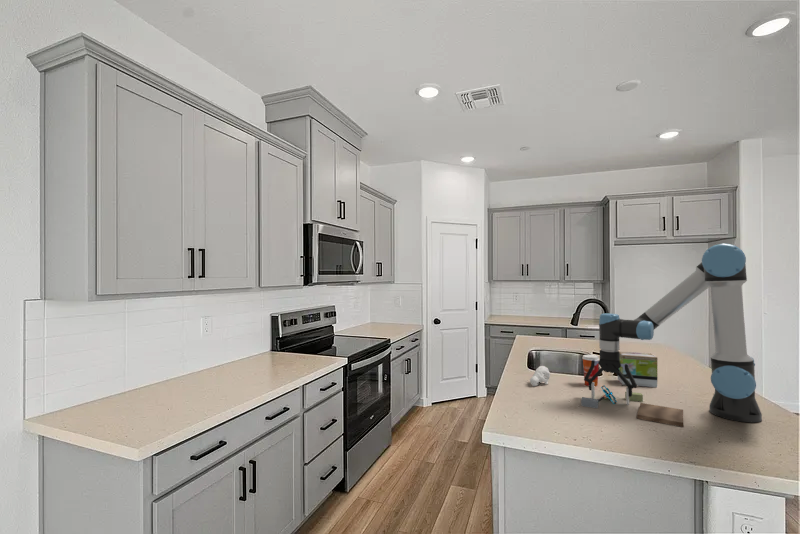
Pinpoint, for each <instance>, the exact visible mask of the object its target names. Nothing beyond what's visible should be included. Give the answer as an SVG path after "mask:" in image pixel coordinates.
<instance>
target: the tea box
mask: <svg viewBox="0 0 800 534" xmlns="http://www.w3.org/2000/svg"><path fill="white" fill-rule="evenodd" d="M619 352H620V363H621V364H626V363H628V365H629V370H630V372H631V374H632V376H633V378H634V380H635V382H636V384H637V387H648V388H655V387H656V388H658V356H656V355H655V354H653V353H649V352H647V353H646V352H632V351H620V350H619ZM619 370H620V371H621V373H622V374H623V375H624V377H625V378H626V379H627V380H628V381H629V383H630V384H631V385H632V383H631V381H630V379H629V377H628V375H627V373H626V371H625V369H623V367H620V368H619ZM617 380H618V381H619V383H620V384H621V385H625V383H624V382H623V381H622V380H621V378H620V377H619V376H618V375H617ZM625 386H626V385H625ZM656 388H655V389H656Z"/></svg>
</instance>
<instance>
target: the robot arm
mask: <svg viewBox="0 0 800 534" xmlns="http://www.w3.org/2000/svg"><path fill="white" fill-rule="evenodd" d="M746 262H747V258H746V254H745V253H744V250H743V249H741V248H740V247H738V246H736V245H735V244H732V243H731V244H730V243H719V244H714V245H712V246H710V247H709V248H707V249H706V250H705V251H704V252H703V255H702V257H701V262H700V263H699V264H698V265H696V267H695V271H694V272H692V273H691V274H690V275H688V277H686V278H685V279H684V280H683V281H681V282H680V283H679V284H678V285H676V286H675V287H674V288H673V289H671V290H670V291H669V292H668V293H666V294H665V295H664V296H663V297H662V298H660V299H659V300H658V301H657V302H656V303H654V304H652V306H650V307H649V308H648V309H647V310H645V311H644V312H643V313H642V314H641V315H639V316H637V318H635V319H622V318H620V314H617V313H608V312H607V313H605V312H604V313H601V314H600V315H599V319H598V321H599V323H598V330H599V335H598V336H599V339H598V343H599V346H598V347H599V359H600V360H599V361H596V360H594V359H593V360H592V361H591V367H590V369H589V370H588V372H587V374H586V376H585V378H584V377H583V380H585V381H587V382H588V383H589V386H588V390H589V391H591V392H590V393H591V398H592V399H596V397H595V394H596V393H595V387H594V382H593V380H594V379H595V378H596V377H597V376H598V377H599V376H600V375H601V373H602V372H605V373H611V374H616V375H617V377H618V376H619V377H620V378H621V380H622V381H623V382H624V383H625V386H626V389H625V390H626V391H625V392H626V399H625V403H626V405H627V406H629V405H630V401H629V396H630V397H631V396H632V392H633V389H637V387H638V386H637V384H636V382H635V380H634V378H633V376H632V374H631V372H630V370H629V365H628V363H626V364H621V363H620V352H621V351H620V349H621V348H620V347H621V346H620V338H624V339H634V340H635V339H636V340H640V341H645V340H646V341H651V340H652V339H653V338H654V335H655V333H654V332H655V330H656V329H657V328H658V327H660V325H662V324H664V323H665V322H666V321H667V320H669V319H670V318H671V317H672V316H674V315H675V314H676V313H678V312H679V311H680V310H681V309H683V308H684V307H685V306H687V305H688V304H689V303H691V302H692V301H693V300H695V299H696V298H697V297H698V296H700V295H701V294H703V292H705V291H706V290H708V289H709V288H710V300H711V311H712V312H711V313H712V322H713V334H714V348H715V349H714V350H715V352H714V353H713V354H712V355H710V368H711V375H710V383H711V385H712V387H713V388H714V394H713V395H712V398H711V401H710V403H709V406H708V407H709V413H711V414H712V415H715V416H717V417H719V418H724V419H726V420H730V421H731V420H732V421H734V422H735V421H736V422H741V423H759V422H762V421H763V417H762V416H763V415H762V411H761V409H760V406H759V404H758V402H757V399H756V388H757V382H756V375H755V371H756V370H755V366H756V363H755V359H754V358H753V357H752V356H749V355H748V351H747V350H748V349H747V339H746V338H747V337H746V326H745V323H746V322H745V312H744V302H743V301H744V300H743V289H742V286H743V285H744V284H745V283H746V282H747V281H748V278H747V277H748V276H747V265H746V264H747V263H746ZM619 351H620V352H619ZM597 364H599V366H600V368H599V369H598V372H597V373H596V374H595V375H594V376H593V377H592V378H591V379H589V376H590V374H591V372H592V370H593V368H594V367H595V366H596V365H597ZM620 367H623V369H625V371H626V373H627V375H628V377H629V379H630V381H631V383H632V385H631V384H630V383H629V381H628V380H627V379H626V378H625V377H624V375H623V374H622V373H621V371H620V370H619V368H620ZM585 381H584V382H585Z"/></svg>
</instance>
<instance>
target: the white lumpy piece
mask: <svg viewBox="0 0 800 534" xmlns="http://www.w3.org/2000/svg"><path fill="white" fill-rule="evenodd" d="M550 376H551V372H550V371H549V368H548V367H547V366H545V365H539V366H538V367H537V368H536V369H535V371H534V374H532V376H531V377H530V378H529V383H530V384H531V385H532V387H537V386H539V384H540V383H543V382H544V385H546V384H549V380H550ZM539 382H540V383H539Z"/></svg>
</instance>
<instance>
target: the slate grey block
mask: <svg viewBox="0 0 800 534" xmlns="http://www.w3.org/2000/svg"><path fill="white" fill-rule="evenodd" d="M580 399H581V401H580V402H581V403H580V405H581V407H586V408H593V409H599V402H598V399H599V398H594V399H592V397H584V396H582V397H581V398H580Z"/></svg>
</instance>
